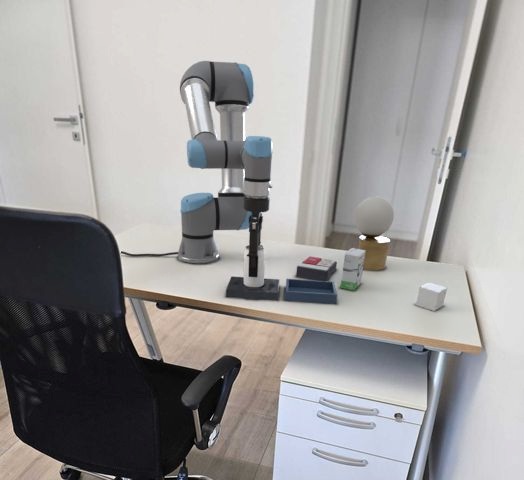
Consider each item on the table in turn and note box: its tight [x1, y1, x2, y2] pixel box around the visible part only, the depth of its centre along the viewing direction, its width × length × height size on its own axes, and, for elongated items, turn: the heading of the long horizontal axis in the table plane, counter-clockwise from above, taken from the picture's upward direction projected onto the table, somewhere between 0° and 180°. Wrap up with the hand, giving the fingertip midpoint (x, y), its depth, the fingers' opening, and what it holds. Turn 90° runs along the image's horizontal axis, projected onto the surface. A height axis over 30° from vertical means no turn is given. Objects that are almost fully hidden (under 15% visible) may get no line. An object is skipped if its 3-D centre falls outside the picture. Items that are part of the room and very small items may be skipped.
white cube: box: [415, 282, 448, 312], centre depth 134 cm, size 6×6×6 cm
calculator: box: [295, 256, 338, 281], centre depth 157 cm, size 11×4×15 cm
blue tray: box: [284, 278, 338, 305], centre depth 138 cm, size 16×12×3 cm
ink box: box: [339, 247, 365, 291], centre depth 145 cm, size 9×5×12 cm, turn 153°
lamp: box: [353, 195, 395, 272], centre depth 163 cm, size 15×14×25 cm
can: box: [243, 244, 266, 288], centre depth 136 cm, size 6×6×12 cm
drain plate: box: [225, 275, 281, 301], centre depth 139 cm, size 16×13×2 cm
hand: (253, 272), depth 137 cm, fingers closed on can, 6 cm apart
